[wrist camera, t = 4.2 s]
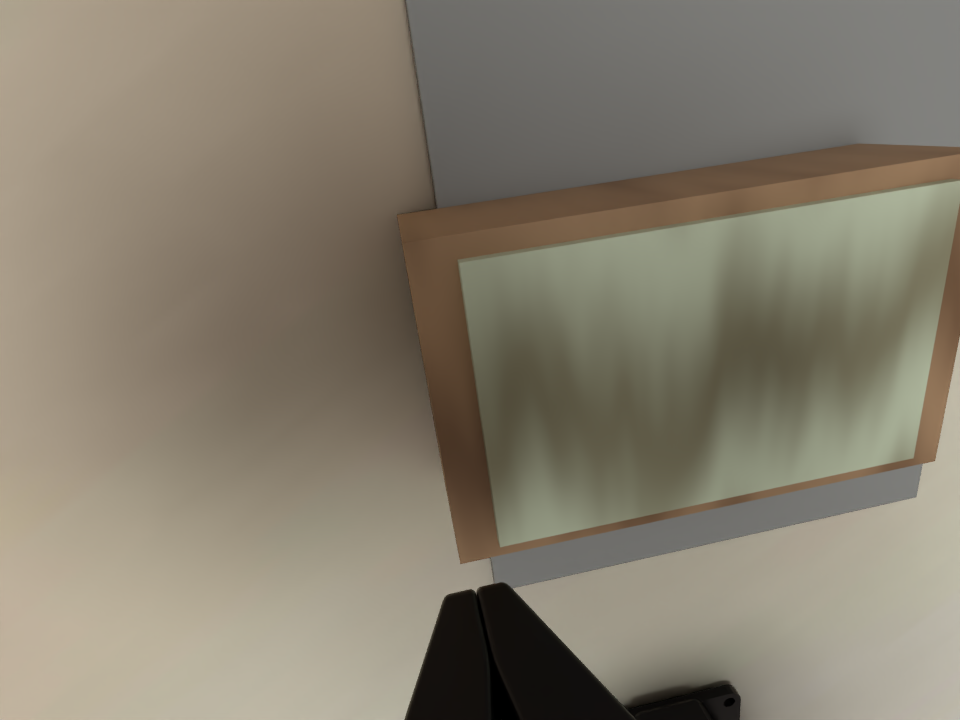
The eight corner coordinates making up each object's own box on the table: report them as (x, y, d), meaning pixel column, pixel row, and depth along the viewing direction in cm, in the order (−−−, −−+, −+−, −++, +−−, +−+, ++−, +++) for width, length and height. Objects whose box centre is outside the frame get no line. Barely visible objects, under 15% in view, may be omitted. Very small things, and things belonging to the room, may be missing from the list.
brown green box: (443, 476, 18) (829, 398, 20) (462, 572, 14) (944, 466, 16) (397, 214, 15) (858, 143, 16) (404, 245, 11) (1010, 148, 13)
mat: (907, 490, 22) (915, 497, 22) (494, 583, 21) (496, 591, 20) (1011, -82, 15) (1026, -86, 15) (403, -12, 14) (404, -16, 13)
